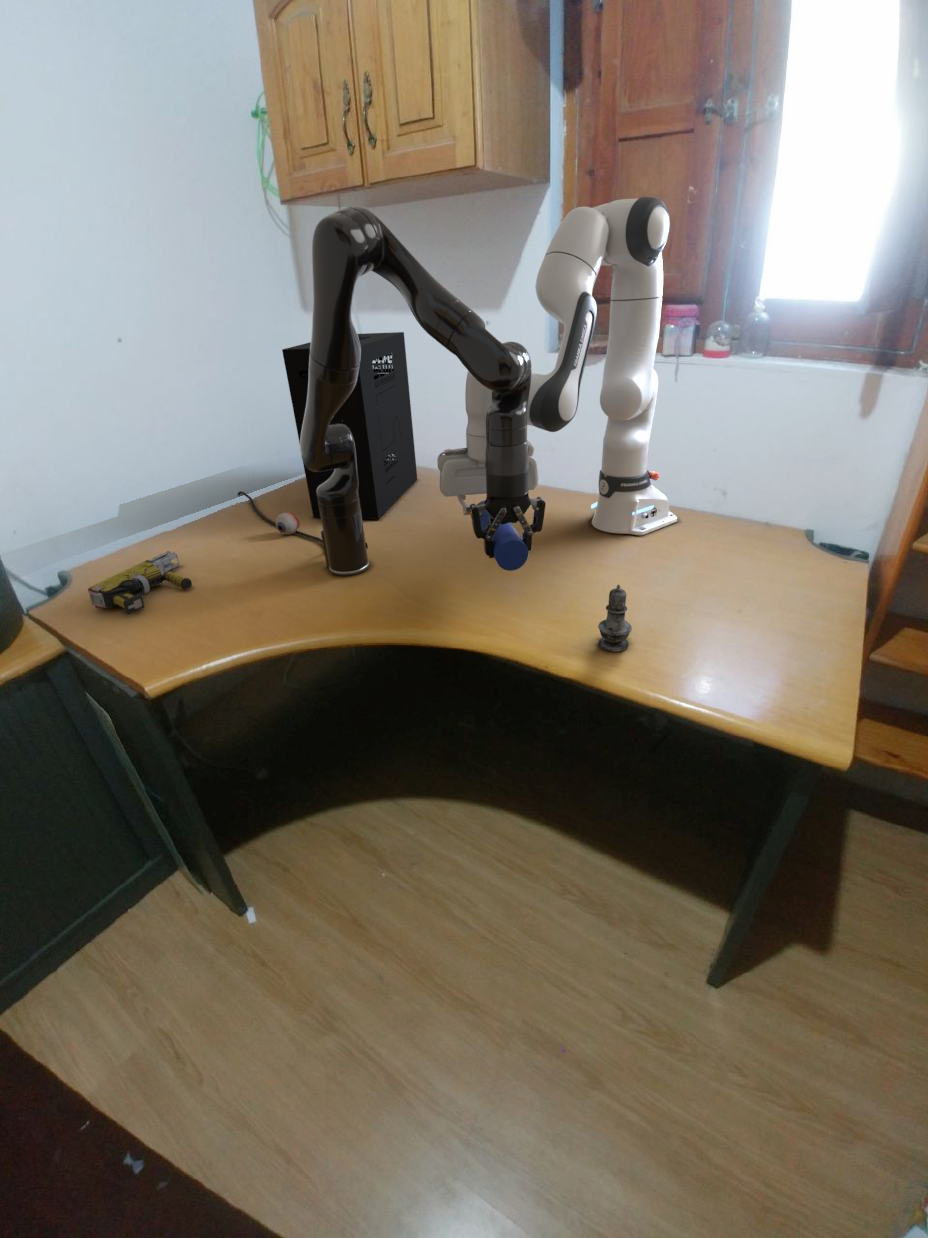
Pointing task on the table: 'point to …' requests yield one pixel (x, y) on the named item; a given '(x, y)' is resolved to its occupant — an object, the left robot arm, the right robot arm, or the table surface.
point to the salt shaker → (615, 623)
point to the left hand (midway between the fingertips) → (508, 554)
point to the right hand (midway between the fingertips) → (488, 512)
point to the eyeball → (287, 523)
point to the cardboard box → (367, 421)
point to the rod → (506, 545)
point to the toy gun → (136, 583)
